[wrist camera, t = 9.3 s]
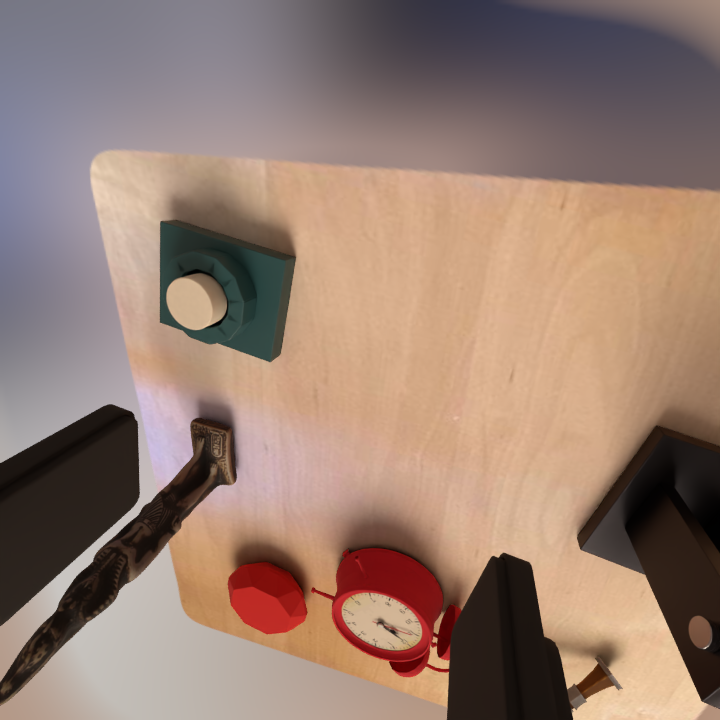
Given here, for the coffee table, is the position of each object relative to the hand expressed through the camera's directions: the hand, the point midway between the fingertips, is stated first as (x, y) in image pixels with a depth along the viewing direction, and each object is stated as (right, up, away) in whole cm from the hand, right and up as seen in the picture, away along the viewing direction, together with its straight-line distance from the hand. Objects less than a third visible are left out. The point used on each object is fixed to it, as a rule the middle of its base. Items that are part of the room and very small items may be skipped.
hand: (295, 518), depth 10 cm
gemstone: (-8, -21, +33) cm, 40 cm away
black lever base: (+23, -6, +17) cm, 30 cm away
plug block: (-9, +9, +21) cm, 24 cm away
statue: (-12, -5, +28) cm, 30 cm away
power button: (-9, +8, +18) cm, 22 cm away
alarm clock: (+6, -19, +28) cm, 35 cm away
